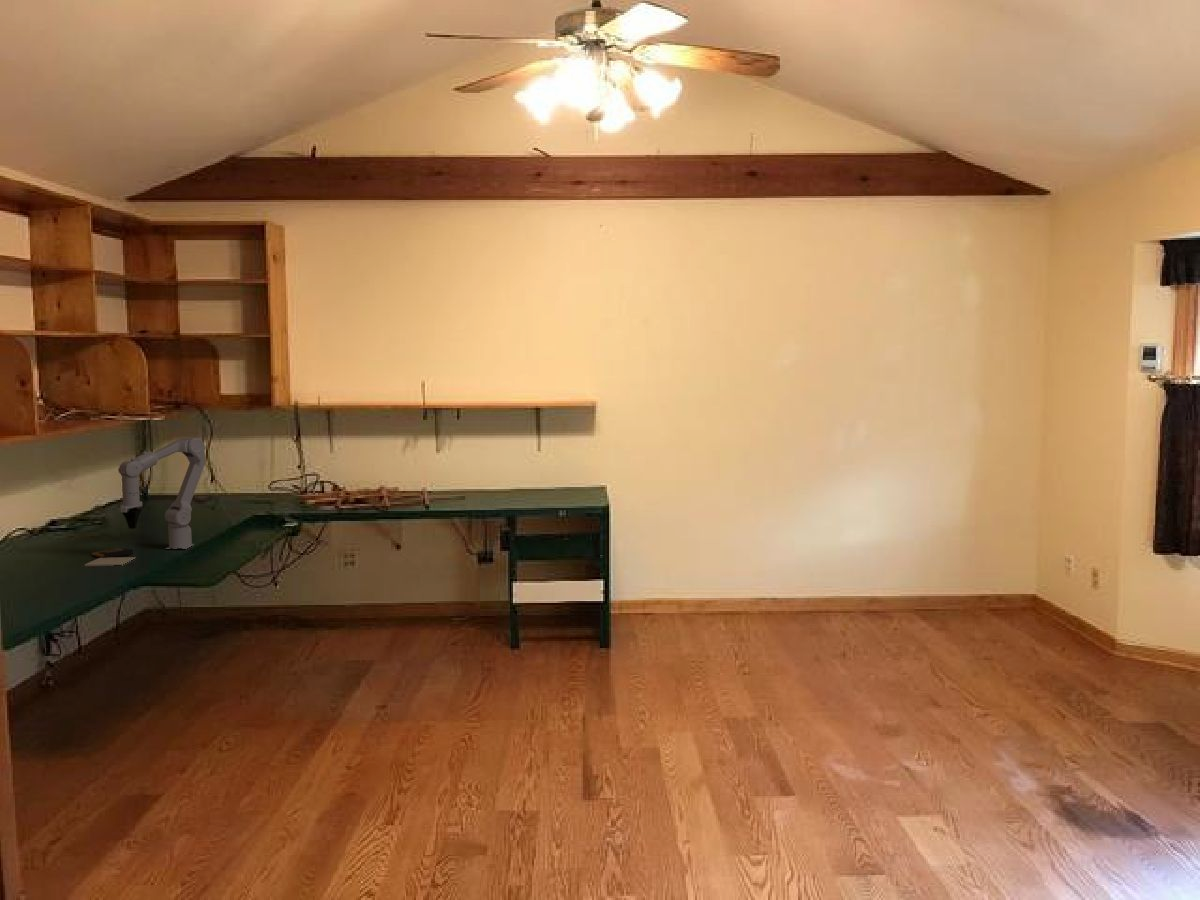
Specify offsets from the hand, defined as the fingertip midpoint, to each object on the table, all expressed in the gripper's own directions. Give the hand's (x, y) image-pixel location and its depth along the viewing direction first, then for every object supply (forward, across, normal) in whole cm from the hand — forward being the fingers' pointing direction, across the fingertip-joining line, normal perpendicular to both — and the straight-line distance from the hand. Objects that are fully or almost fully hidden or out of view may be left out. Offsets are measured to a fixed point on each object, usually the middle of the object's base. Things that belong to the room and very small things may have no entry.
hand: (132, 528), depth 362 cm
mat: (+10, +12, -3) cm, 17 cm away
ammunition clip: (+9, +3, -4) cm, 10 cm away
